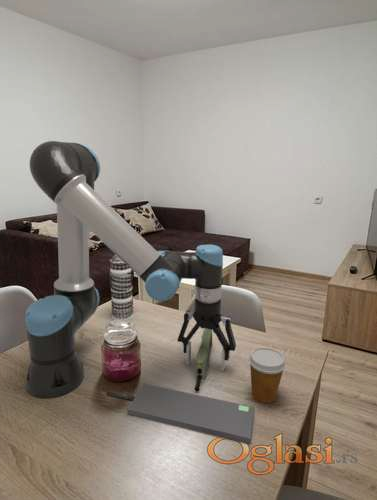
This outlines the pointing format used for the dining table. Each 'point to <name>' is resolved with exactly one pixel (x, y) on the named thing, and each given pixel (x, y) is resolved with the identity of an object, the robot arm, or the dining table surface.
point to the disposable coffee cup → (266, 373)
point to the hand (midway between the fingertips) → (205, 365)
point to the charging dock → (192, 412)
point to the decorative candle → (121, 289)
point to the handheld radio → (203, 357)
